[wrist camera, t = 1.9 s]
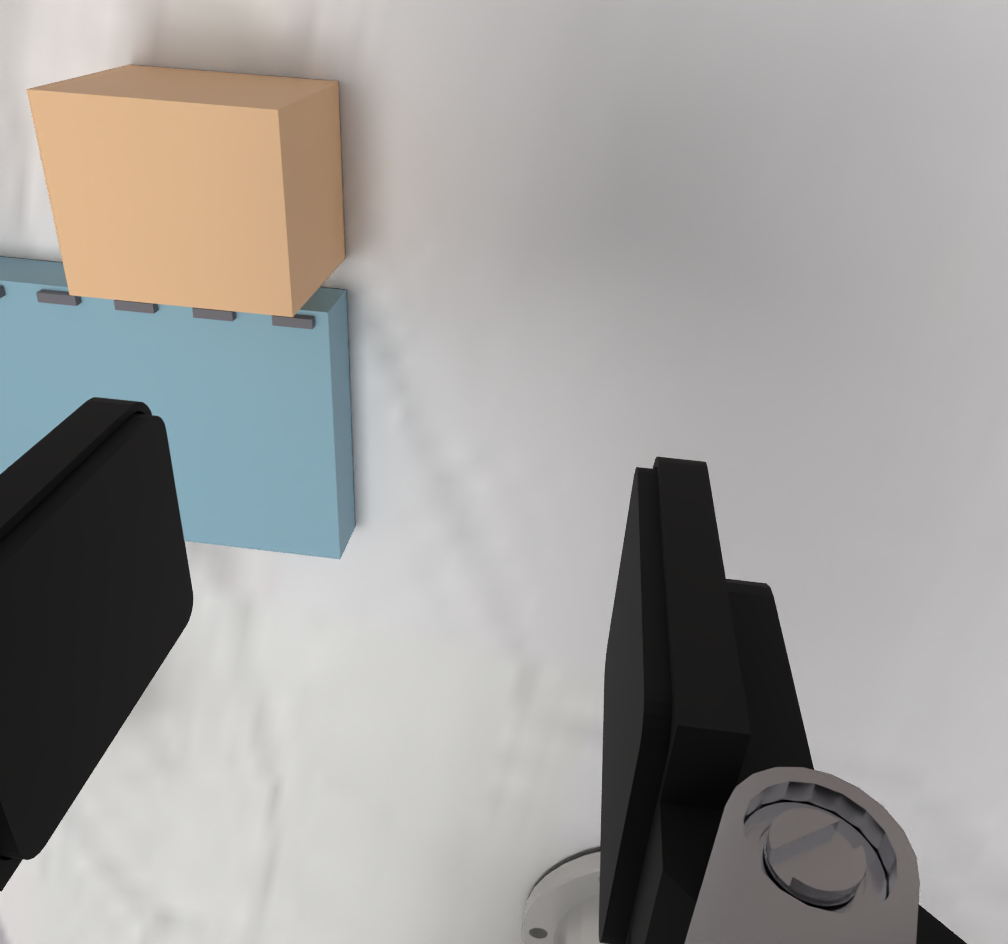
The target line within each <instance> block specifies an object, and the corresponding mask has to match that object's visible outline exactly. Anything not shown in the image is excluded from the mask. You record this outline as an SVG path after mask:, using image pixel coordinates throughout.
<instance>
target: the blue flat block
mask: <svg viewBox="0 0 1008 944" xmlns="http://www.w3.org/2000/svg"><path fill="white" fill-rule="evenodd" d="M93 397H100V398H110V399H119V400H128V401H138V402H143V403H145V404H146V405H148V407H149V409H150V410H151V412H152V415H155V416H159V417H161V418H162V420H163V421H164V423H165V427H166V431H167V437H168V443H169V449H170V455H171V462H172V468H173V474H174V480H175V486H176V492H177V498H178V505H179V511H180V517H181V523H182V529H183V535H184V541H190V542H198V543H207V544H215V545H224V546H232V547H241V548H249V549H258V550H266V551H275V552H283V553H292V554H300V555H309V556H317V557H326V558H334V559H340V558H341V556H342V554H343V552H344V550H345V548H346V545H347V543H348V541H349V539H350V537H351V535H352V532H353V530H354V528H355V508H354V482H353V455H352V429H351V402H350V376H349V349H348V322H347V296H346V290H343V289H333V288H322V287H319V288H318V289H317V291H316V292H315V293H314V294H313V295H312V296H311V297H310V298H309V300H308V301H307V302H306V303H305V304H304V305H303V306H302V307H301V309H300V310H299V311H298V312H297V313H296V314H295V315H294V316H293V317H286V316H275V315H265V314H255V313H245V312H235V311H225V310H214V309H204V308H194V307H184V306H174V305H164V304H154V303H143V302H133V301H123V300H113V299H103V298H93V297H83V296H72V295H69V290H68V285H67V280H66V276H65V271H64V266H63V263H62V262H51V261H41V260H30V259H20V258H9V257H0V474H1V473H2V472H3V471H5V470H6V469H7V468H8V467H9V466H11V465H12V464H13V463H14V462H15V461H16V460H18V459H19V458H20V457H21V456H22V455H24V454H25V453H26V452H27V451H28V450H29V449H31V448H32V447H33V446H34V445H35V444H36V443H38V442H39V441H40V440H41V439H42V438H44V437H45V436H46V435H47V434H48V433H49V432H51V431H52V430H53V429H54V428H55V427H56V426H58V425H59V424H60V423H61V422H62V421H64V420H65V419H66V418H67V417H68V416H69V415H71V414H72V413H73V412H74V411H75V410H77V409H78V408H79V407H80V406H81V405H82V404H84V403H85V402H86V401H87V400H89V399H91V398H93Z"/></svg>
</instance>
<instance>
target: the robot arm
mask: <svg viewBox="0 0 1008 944" xmlns="http://www.w3.org/2000/svg"><path fill="white" fill-rule="evenodd" d="M192 607H193V591H192V584H191V578H190V572H189V566H188V560H187V554H186V548H185V541H184V535H183V529H182V523H181V517H180V511H179V505H178V498H177V492H176V486H175V480H174V474H173V468H172V462H171V455H170V449H169V443H168V437H167V431H166V427H165V423H164V421H163V420H162V418H161V417H159V416H155V415H152V412H151V410H150V409H149V407H148V405H146V404H145V403H143V402H138V401H128V400H119V399H110V398H100V397H93V398H91V399H89V400H87V401H86V402H85V403H84V404H82V405H81V406H80V407H79V408H78V409H77V410H75V411H74V412H73V413H72V414H71V415H69V416H68V417H67V418H66V419H65V420H64V421H62V422H61V423H60V424H59V425H58V426H56V427H55V428H54V429H53V430H52V431H51V432H49V433H48V434H47V435H46V436H45V437H44V438H42V439H41V440H40V441H39V442H38V443H36V444H35V445H34V446H33V447H32V448H31V449H29V450H28V451H27V452H26V453H25V454H24V455H22V456H21V457H20V458H19V459H18V460H16V461H15V462H14V463H13V464H12V465H11V466H9V467H8V468H7V469H6V470H5V471H3V472H2V473H1V474H0V891H2V890H3V888H4V887H5V885H6V884H7V882H8V881H9V879H10V878H11V876H12V875H13V873H14V872H15V870H16V869H17V867H18V866H19V864H20V862H21V861H22V859H25V860H29V859H32V858H34V857H35V856H36V855H38V854H39V853H40V852H41V850H42V849H43V848H44V846H45V845H46V844H47V842H48V840H49V839H50V837H51V836H52V834H53V833H54V831H55V830H56V828H57V826H58V825H59V823H60V822H61V820H62V819H63V817H64V816H65V814H66V812H67V811H68V809H69V808H70V806H71V805H72V803H73V801H74V800H75V798H76V797H77V795H78V794H79V792H80V791H81V789H82V787H83V786H84V784H85V783H86V781H87V780H88V778H89V777H90V775H91V773H92V772H93V770H94V769H95V767H96V766H97V764H98V763H99V761H100V759H101V758H102V756H103V755H104V753H105V752H106V750H107V748H108V747H109V745H110V744H111V742H112V741H113V739H114V738H115V736H116V734H117V733H118V731H119V730H120V728H121V727H122V725H123V724H124V722H125V720H126V719H127V717H128V716H129V714H130V713H131V711H132V710H133V708H134V706H135V705H136V703H137V702H138V700H139V699H140V697H141V695H142V694H143V692H144V691H145V689H146V688H147V686H148V685H149V683H150V681H151V680H152V678H153V677H154V675H155V674H156V672H157V671H158V669H159V667H160V666H161V664H162V663H163V661H164V660H165V658H166V657H167V655H168V653H169V652H170V650H171V649H172V647H173V646H174V644H175V642H176V641H177V639H178V638H179V636H180V635H181V633H182V632H183V630H184V628H185V627H186V625H187V623H188V621H189V619H190V616H191V612H192ZM919 886H920V881H919V873H918V866H917V859H916V855H915V853H914V851H913V849H912V847H911V845H910V843H909V841H908V839H907V836H906V834H905V832H904V830H903V829H902V828H901V827H900V826H899V824H898V823H897V822H896V821H895V820H894V819H893V817H892V816H891V815H890V814H889V813H888V811H887V810H886V809H885V808H884V807H883V806H882V805H880V804H879V803H878V802H877V801H875V800H874V799H873V798H871V797H870V796H869V795H867V794H866V793H865V792H864V791H862V790H861V789H860V788H858V787H856V786H854V785H852V784H850V783H848V782H846V781H844V780H842V779H840V778H838V777H836V776H834V775H831V774H828V773H824V772H820V771H816V770H814V768H813V763H812V759H811V755H810V750H809V746H808V742H807V738H806V733H805V729H804V725H803V720H802V716H801V712H800V708H799V703H798V699H797V695H796V690H795V686H794V682H793V678H792V673H791V669H790V665H789V660H788V656H787V652H786V648H785V643H784V639H783V635H782V631H781V626H780V622H779V618H778V613H777V609H776V605H775V601H774V596H773V594H772V591H771V588H770V587H769V586H768V585H767V584H766V583H757V582H749V581H740V580H731V579H726V578H725V572H724V566H723V560H722V553H721V547H720V541H719V535H718V529H717V523H716V517H715V511H714V505H713V499H712V493H711V486H710V480H709V474H708V468H707V464H706V462H702V461H692V460H683V459H674V458H664V457H656V459H655V462H654V466H653V469H649V468H639V467H636V470H635V474H634V480H633V486H632V492H631V499H630V505H629V512H628V518H627V524H626V531H625V537H624V543H623V550H622V556H621V562H620V569H619V575H618V581H617V588H616V594H615V600H614V607H613V613H612V619H611V626H610V632H609V639H608V645H607V653H606V663H605V680H604V722H603V764H602V806H601V848H600V851H599V852H595V853H591V854H587V855H584V856H581V857H579V858H577V859H574V860H572V861H569V862H567V863H565V864H563V865H561V866H560V867H558V868H557V869H555V870H554V871H552V872H550V873H549V874H547V875H546V876H545V877H544V878H543V879H542V880H541V881H540V882H539V883H538V884H537V885H536V886H535V887H534V888H533V890H532V892H531V894H530V896H529V897H528V899H527V901H526V905H525V910H524V915H523V923H522V942H523V944H967V943H965V942H964V941H963V940H962V939H960V938H959V937H958V936H957V935H956V934H954V933H953V932H952V931H951V930H949V929H948V928H947V927H946V926H945V925H943V924H942V923H941V922H940V921H938V920H937V919H936V918H935V917H934V916H932V915H931V914H930V913H929V912H927V911H926V910H925V909H924V908H923V907H921V906H920V905H919Z"/></svg>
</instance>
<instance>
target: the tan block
mask: <svg viewBox="0 0 1008 944" xmlns="http://www.w3.org/2000/svg"><path fill="white" fill-rule="evenodd" d="M27 94H28V98H29V103H30V108H31V113H32V117H33V122H34V127H35V132H36V137H37V141H38V146H39V151H40V156H41V161H42V165H43V170H44V175H45V180H46V185H47V189H48V194H49V199H50V204H51V209H52V213H53V218H54V223H55V228H56V232H57V237H58V242H59V247H60V252H61V256H62V261H63V266H64V271H65V276H66V280H67V285H68V290H69V295H72V296H83V297H93V298H103V299H113V300H123V301H133V302H143V303H154V304H164V305H174V306H184V307H194V308H204V309H214V310H225V311H235V312H245V313H255V314H265V315H275V316H286V317H293V316H294V315H295V314H296V313H297V312H298V311H299V310H300V309H301V307H302V306H303V305H304V304H305V303H306V302H307V301H308V300H309V298H310V297H311V296H312V295H313V294H314V293H315V292H316V291H317V289H318V288H319V287H320V286H321V285H322V284H323V283H324V282H325V280H326V279H327V278H328V277H329V276H330V275H331V274H332V273H333V271H334V270H335V269H336V268H337V267H338V266H339V265H340V264H341V262H342V261H343V260H344V259H345V243H344V216H343V190H342V163H341V136H340V110H339V83H338V81H329V80H316V79H303V78H291V77H278V76H266V75H253V74H240V73H228V72H215V71H203V70H190V69H177V68H165V67H152V66H140V65H126V66H122V67H118V68H114V69H110V70H105V71H101V72H97V73H93V74H89V75H84V76H80V77H76V78H72V79H68V80H64V81H59V82H55V83H51V84H47V85H43V86H38V87H34V88H30V89H27Z"/></svg>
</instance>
